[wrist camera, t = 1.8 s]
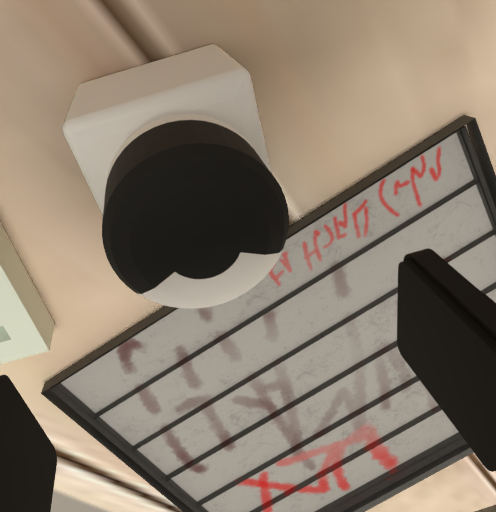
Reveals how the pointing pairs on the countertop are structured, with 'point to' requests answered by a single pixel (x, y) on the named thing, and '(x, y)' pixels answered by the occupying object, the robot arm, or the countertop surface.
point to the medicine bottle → (180, 177)
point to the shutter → (300, 355)
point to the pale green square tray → (20, 309)
